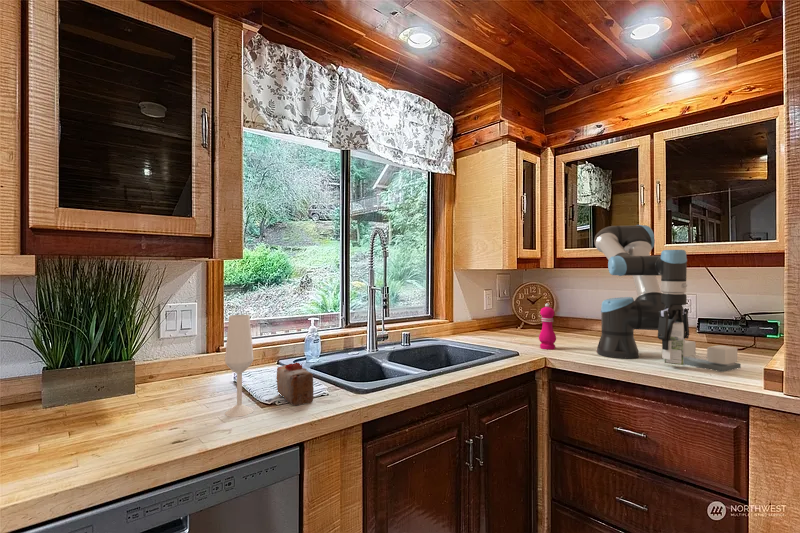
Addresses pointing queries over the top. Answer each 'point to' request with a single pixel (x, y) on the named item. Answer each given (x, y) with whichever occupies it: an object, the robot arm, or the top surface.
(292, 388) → the food item
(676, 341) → the syrup box
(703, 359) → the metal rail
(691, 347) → the left module
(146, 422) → the top surface
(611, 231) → the robot arm
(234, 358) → the champagne flute
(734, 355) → the block
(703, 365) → the board
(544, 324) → the pepper mill
